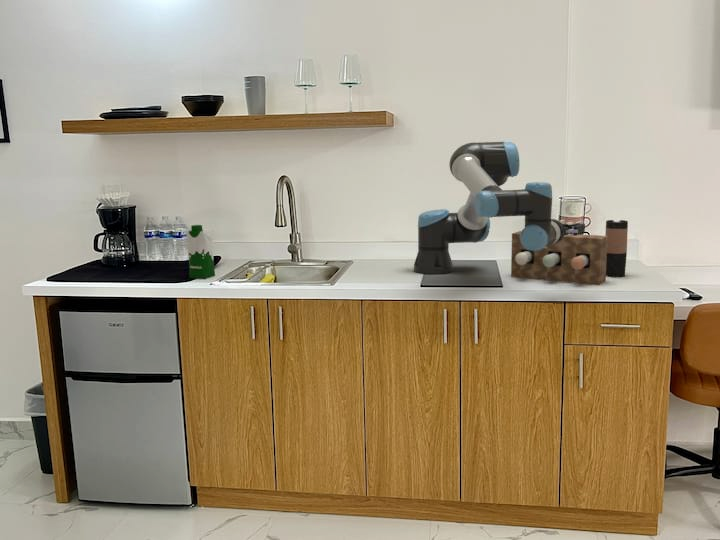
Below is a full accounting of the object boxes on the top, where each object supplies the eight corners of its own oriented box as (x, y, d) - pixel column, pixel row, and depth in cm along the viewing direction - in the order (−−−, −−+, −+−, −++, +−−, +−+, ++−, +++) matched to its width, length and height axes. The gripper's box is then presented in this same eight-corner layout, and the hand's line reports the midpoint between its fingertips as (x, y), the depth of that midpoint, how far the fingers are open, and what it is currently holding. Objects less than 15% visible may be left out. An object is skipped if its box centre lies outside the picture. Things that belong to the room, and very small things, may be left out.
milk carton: (186, 278, 280) (182, 226, 276) (198, 274, 288) (195, 223, 285) (206, 279, 277) (203, 226, 273) (218, 275, 285) (215, 223, 282)
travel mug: (614, 278, 265) (617, 222, 262) (599, 274, 272) (601, 220, 268) (630, 275, 269) (632, 221, 265) (614, 272, 275) (616, 219, 272)
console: (511, 276, 271) (511, 233, 268) (519, 273, 278) (520, 231, 275) (599, 284, 254) (601, 238, 251) (605, 280, 260) (607, 235, 258)
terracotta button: (570, 269, 252) (571, 256, 252) (577, 265, 258) (577, 253, 257) (583, 270, 250) (584, 257, 249) (589, 266, 256) (590, 254, 255)
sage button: (542, 266, 258) (542, 254, 257) (549, 263, 264) (549, 251, 263) (554, 267, 255) (555, 255, 255) (561, 264, 261) (561, 252, 260)
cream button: (515, 264, 263) (515, 252, 262) (522, 261, 269) (522, 249, 268) (527, 265, 261) (527, 253, 260) (533, 262, 267) (534, 250, 266)
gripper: (519, 243, 229) (545, 234, 248) (578, 246, 219) (600, 237, 238) (520, 218, 228) (545, 211, 247) (579, 221, 218) (601, 214, 237)
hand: (572, 224), depth 243 cm, fingers open, 5 cm apart
